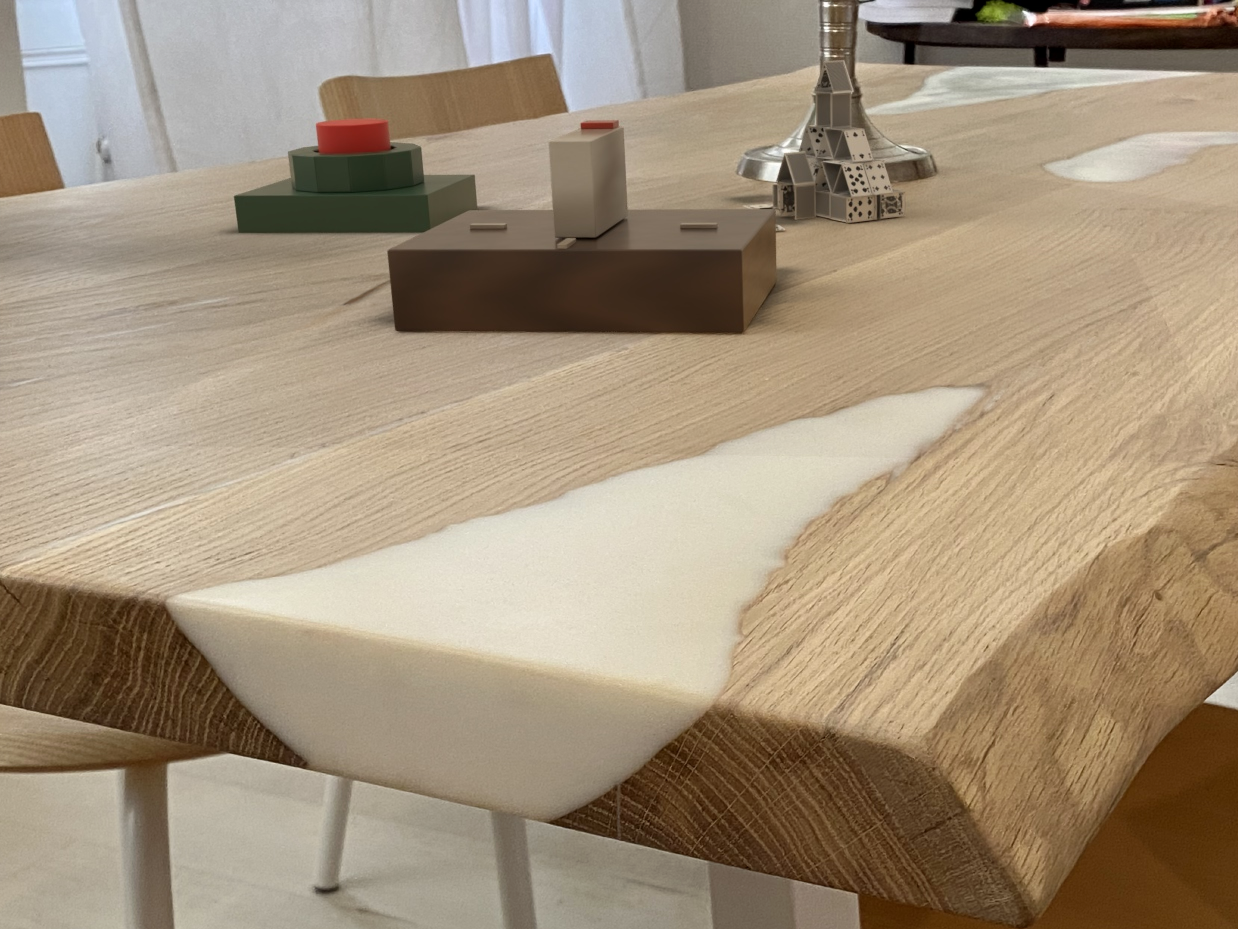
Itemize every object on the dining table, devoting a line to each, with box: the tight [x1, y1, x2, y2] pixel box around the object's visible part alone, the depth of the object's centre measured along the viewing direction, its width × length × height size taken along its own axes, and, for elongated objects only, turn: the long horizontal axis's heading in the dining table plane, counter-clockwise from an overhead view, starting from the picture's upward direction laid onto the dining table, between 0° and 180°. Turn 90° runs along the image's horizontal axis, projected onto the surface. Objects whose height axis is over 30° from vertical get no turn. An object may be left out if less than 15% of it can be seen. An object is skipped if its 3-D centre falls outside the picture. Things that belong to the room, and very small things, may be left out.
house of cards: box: [743, 59, 906, 231], centre depth 84 cm, size 9×9×8 cm
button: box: [315, 118, 391, 153], centre depth 83 cm, size 4×4×2 cm
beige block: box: [548, 119, 629, 238], centre depth 62 cm, size 6×2×4 cm, turn 172°
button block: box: [233, 141, 478, 234], centre depth 83 cm, size 10×8×4 cm
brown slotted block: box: [386, 208, 778, 334], centre depth 63 cm, size 13×10×3 cm
